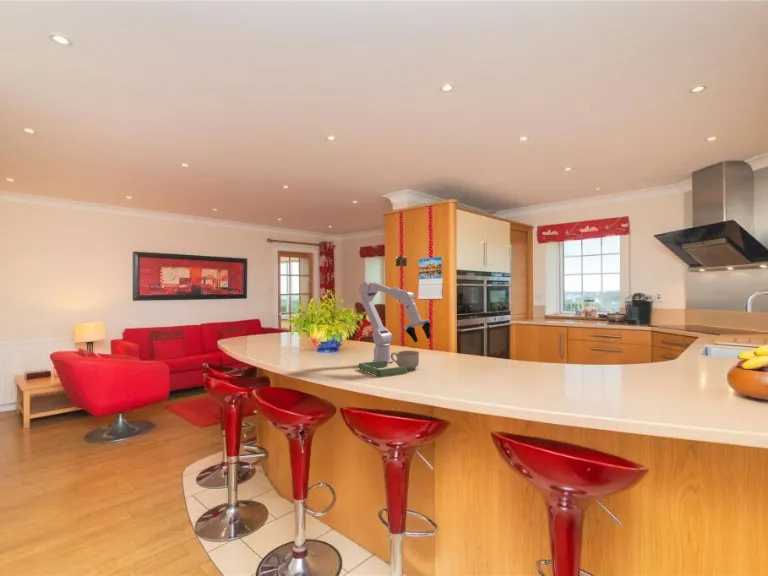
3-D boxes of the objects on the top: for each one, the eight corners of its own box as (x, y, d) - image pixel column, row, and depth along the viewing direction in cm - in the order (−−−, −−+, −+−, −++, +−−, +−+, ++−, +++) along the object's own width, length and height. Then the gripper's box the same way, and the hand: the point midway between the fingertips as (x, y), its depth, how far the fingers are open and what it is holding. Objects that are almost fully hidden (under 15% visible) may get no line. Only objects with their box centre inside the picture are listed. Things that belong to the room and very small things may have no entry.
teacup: (423, 367, 186) (422, 351, 186) (412, 371, 176) (412, 354, 177) (398, 365, 193) (397, 349, 193) (386, 369, 184) (386, 352, 184)
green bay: (359, 369, 185) (359, 363, 185) (386, 366, 191) (386, 360, 191) (377, 377, 167) (377, 370, 167) (407, 373, 173) (406, 366, 173)
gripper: (404, 314, 185) (414, 341, 181) (428, 308, 192) (438, 334, 188) (398, 319, 191) (407, 345, 187) (422, 313, 198) (431, 338, 194)
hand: (422, 340), depth 188 cm, fingers open, 7 cm apart
